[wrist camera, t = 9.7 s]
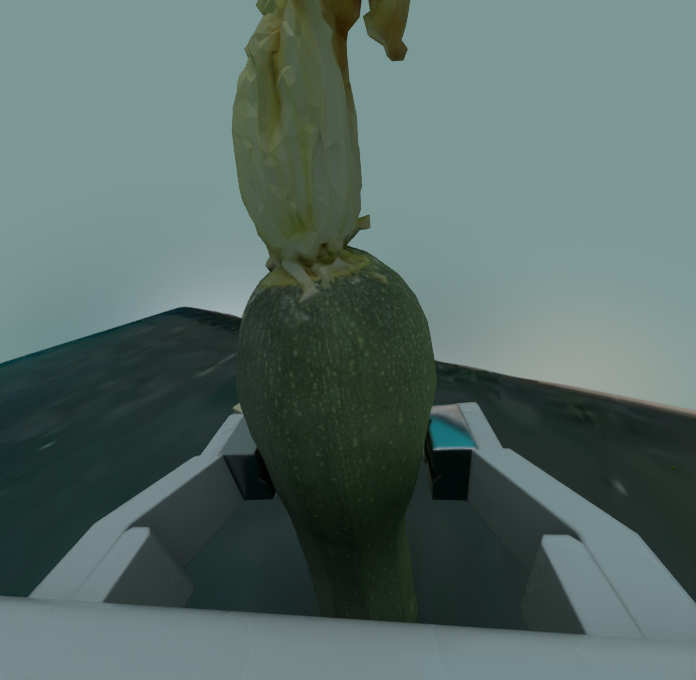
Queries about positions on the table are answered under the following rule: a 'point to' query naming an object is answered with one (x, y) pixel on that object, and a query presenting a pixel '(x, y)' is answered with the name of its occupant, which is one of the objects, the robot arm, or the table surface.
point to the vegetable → (328, 313)
